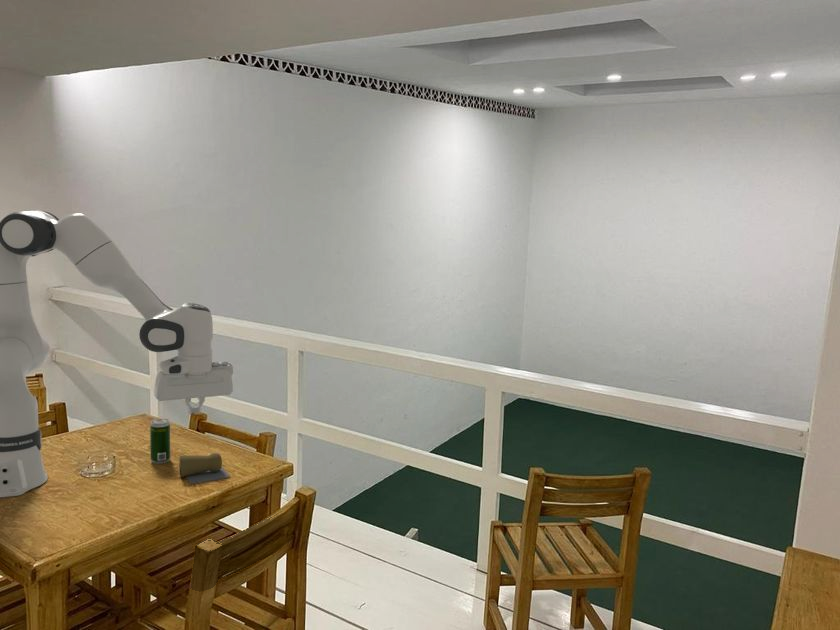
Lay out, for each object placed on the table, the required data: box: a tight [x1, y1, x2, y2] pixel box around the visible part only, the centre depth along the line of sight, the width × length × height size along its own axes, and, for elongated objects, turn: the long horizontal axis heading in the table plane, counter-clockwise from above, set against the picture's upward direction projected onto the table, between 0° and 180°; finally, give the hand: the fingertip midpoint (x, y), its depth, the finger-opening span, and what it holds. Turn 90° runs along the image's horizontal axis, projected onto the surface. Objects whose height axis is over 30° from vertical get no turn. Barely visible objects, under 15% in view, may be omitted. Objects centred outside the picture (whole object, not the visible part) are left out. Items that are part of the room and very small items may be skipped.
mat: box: [185, 466, 231, 485], centre depth 186 cm, size 10×10×1 cm
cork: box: [178, 452, 223, 478], centre depth 186 cm, size 6×6×11 cm
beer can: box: [149, 418, 171, 465], centre depth 194 cm, size 5×5×12 cm
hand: (194, 413), depth 182 cm, fingers closed
